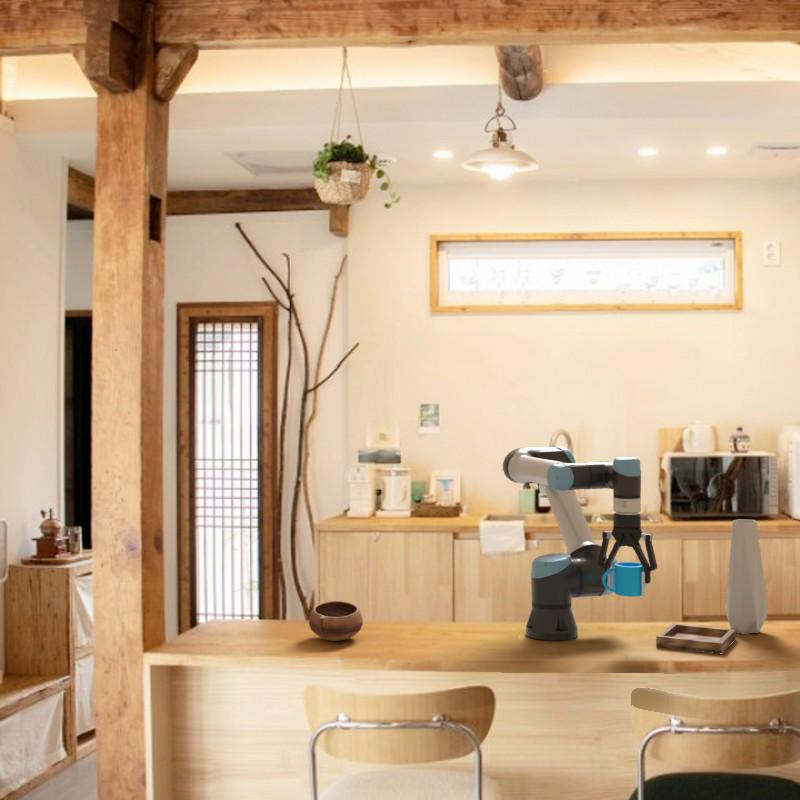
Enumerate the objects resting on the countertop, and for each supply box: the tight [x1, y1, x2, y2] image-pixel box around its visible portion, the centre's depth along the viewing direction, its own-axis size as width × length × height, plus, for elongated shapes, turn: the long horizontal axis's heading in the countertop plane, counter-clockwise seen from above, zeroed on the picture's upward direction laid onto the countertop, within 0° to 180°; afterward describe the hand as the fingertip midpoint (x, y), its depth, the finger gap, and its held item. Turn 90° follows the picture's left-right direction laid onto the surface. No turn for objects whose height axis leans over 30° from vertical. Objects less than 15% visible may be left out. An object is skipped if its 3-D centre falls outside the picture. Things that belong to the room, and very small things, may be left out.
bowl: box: [308, 600, 364, 642], centre depth 309 cm, size 16×16×10 cm
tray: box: [655, 622, 737, 654], centre depth 301 cm, size 18×18×3 cm
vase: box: [724, 518, 769, 635], centre depth 314 cm, size 12×12×33 cm
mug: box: [602, 561, 644, 598], centre depth 297 cm, size 12×8×8 cm
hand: (627, 593), depth 297 cm, fingers closed on mug, 9 cm apart
